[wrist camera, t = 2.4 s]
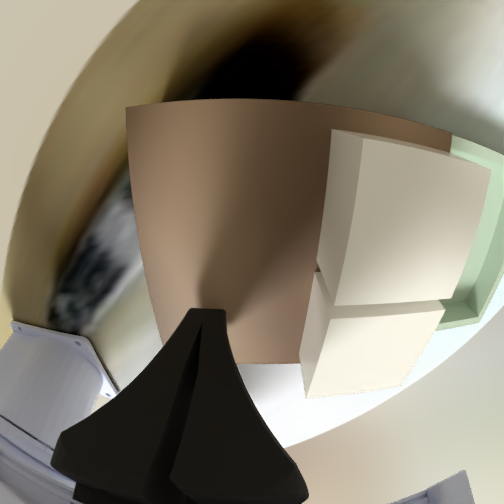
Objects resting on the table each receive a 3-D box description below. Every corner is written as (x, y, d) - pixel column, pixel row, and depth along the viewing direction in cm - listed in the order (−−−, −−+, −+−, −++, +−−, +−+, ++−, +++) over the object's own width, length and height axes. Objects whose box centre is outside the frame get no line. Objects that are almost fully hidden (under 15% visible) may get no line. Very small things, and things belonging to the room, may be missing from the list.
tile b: (316, 260, 10) (333, 305, 7) (331, 129, 7) (363, 138, 5) (419, 260, 10) (450, 298, 7) (445, 151, 7) (491, 170, 5)
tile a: (298, 353, 12) (305, 398, 10) (314, 272, 10) (330, 318, 8) (384, 346, 12) (401, 385, 10) (416, 271, 10) (445, 309, 8)
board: (179, 312, 15) (167, 359, 12) (159, 106, 10) (125, 107, 7) (365, 313, 16) (384, 355, 12) (406, 123, 10) (452, 133, 7)
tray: (365, 313, 16) (376, 338, 14) (406, 123, 10) (433, 128, 8) (464, 303, 16) (479, 322, 14) (510, 159, 10) (533, 170, 8)
